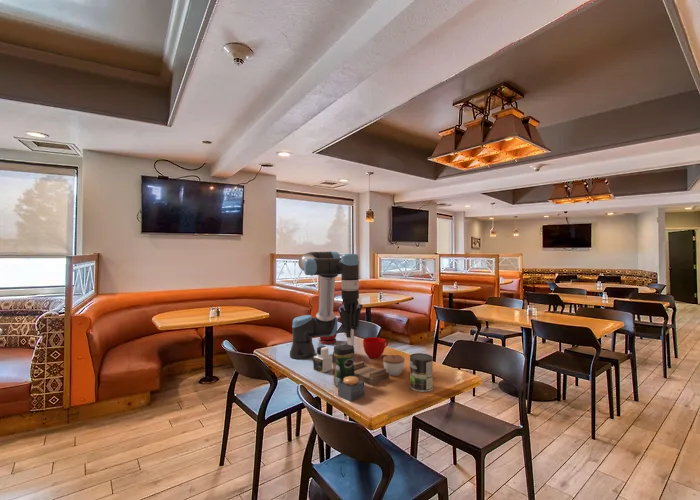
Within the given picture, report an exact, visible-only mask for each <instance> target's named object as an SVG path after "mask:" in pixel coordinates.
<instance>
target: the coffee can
mask: <svg viewBox="0 0 700 500" xmlns="http://www.w3.org/2000/svg"><path fill="white" fill-rule="evenodd" d="M433 360H434V358H433V356H432V355H431V354H429V353H421V352H417V353H415V352H414V353H411V354H410V355H409V383H410V384H409V387H410V389H411V390H412V391H416V392H419V393H427V392H431V391H433V389H434V387H433V386H434V381H433V379H434V378H433V374H434V373H433V370H434V367H433V365H434V363H433Z"/></svg>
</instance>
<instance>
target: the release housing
mask: <svg viewBox="0 0 700 500" xmlns="http://www.w3.org/2000/svg"><path fill="white" fill-rule="evenodd" d="M343 381H344V380H342V381H339V382H338V387H337V396H338V397H339V398H342V399H344V400H346V401H349V402H354V401H357V400H358V399H361V398H363V397H365V383H364V382H363V381H360V380H359V383H357V384H354V385H351V386H350V385H348V384H345V383H343Z"/></svg>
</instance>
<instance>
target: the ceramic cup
mask: <svg viewBox="0 0 700 500" xmlns="http://www.w3.org/2000/svg"><path fill="white" fill-rule="evenodd" d="M362 343H363V344H362V346H363V351H364V353H365V355H366V356H367V357H368V358H369V359H373V360H375V359H380V358H381V356H382V355H383V353H384V351H385V349H387V346H388V344H389V341H388V339H385V338H382V337H378V336H377V337H375V336H374V337H373V336H372V337H371V336H370V337H366V338H364V339H363V340H362Z"/></svg>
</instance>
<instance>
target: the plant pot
mask: <svg viewBox="0 0 700 500" xmlns="http://www.w3.org/2000/svg"><path fill="white" fill-rule="evenodd" d="M337 334H338V330H337V331H336V333H335V335H333V336H328V337H327V336H324V337H319V342H320V343H321V344H324V345H330V344H334V343H337V339H336V338H337Z"/></svg>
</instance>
